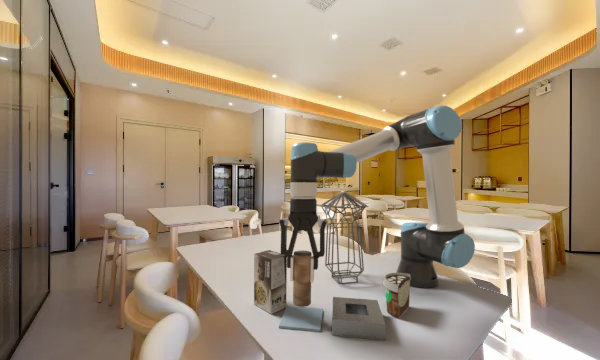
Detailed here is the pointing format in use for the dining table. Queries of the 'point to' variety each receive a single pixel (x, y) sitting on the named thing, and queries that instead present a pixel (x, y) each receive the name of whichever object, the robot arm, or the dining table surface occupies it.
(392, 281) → the food container
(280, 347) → the dining table surface
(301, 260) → the wooden cylinder
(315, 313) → the light blue square plate
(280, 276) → the coffee box
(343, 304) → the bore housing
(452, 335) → the dining table surface
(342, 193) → the geometric lantern
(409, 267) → the robot arm
